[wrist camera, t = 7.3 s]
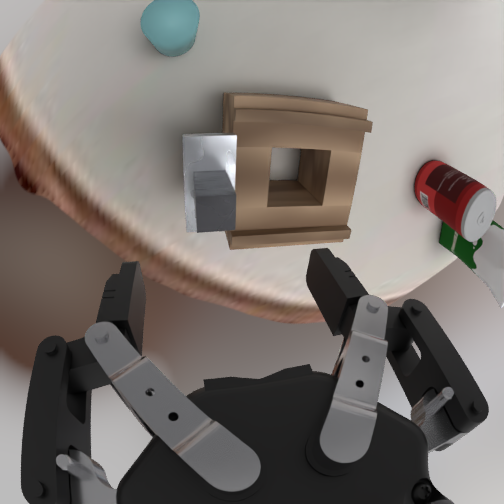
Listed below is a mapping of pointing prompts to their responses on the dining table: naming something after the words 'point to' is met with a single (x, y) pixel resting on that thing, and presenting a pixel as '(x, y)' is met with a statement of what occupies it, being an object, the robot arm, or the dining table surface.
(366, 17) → the dining table surface
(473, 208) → the canned food
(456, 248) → the milk carton
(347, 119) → the socket block
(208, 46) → the dining table surface
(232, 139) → the latch bar
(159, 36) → the dowel
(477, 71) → the dining table surface
